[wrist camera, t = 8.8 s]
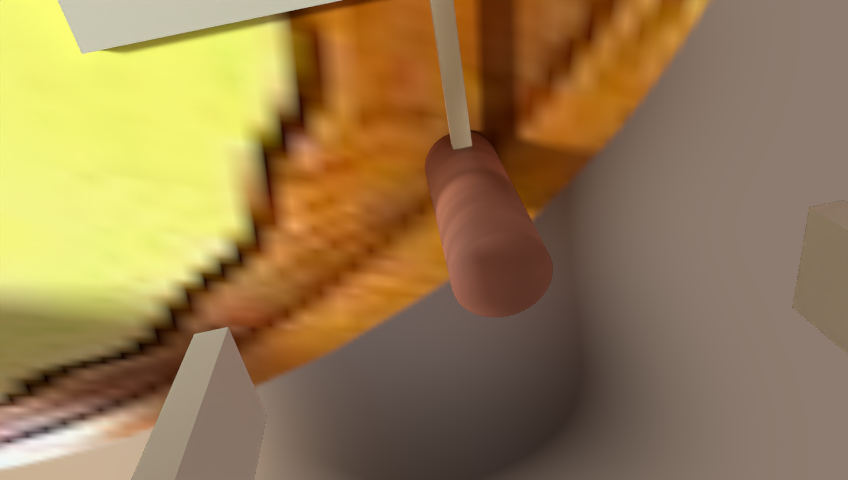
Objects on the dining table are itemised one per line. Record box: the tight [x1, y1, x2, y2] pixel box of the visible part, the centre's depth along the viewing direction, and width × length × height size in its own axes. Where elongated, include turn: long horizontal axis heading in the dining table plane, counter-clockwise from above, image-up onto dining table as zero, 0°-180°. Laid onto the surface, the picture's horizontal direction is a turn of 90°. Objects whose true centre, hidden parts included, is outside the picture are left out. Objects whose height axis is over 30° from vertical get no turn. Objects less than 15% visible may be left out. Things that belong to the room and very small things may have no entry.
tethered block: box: [425, 0, 553, 317], centre depth 18 cm, size 6×19×9 cm, turn 10°
